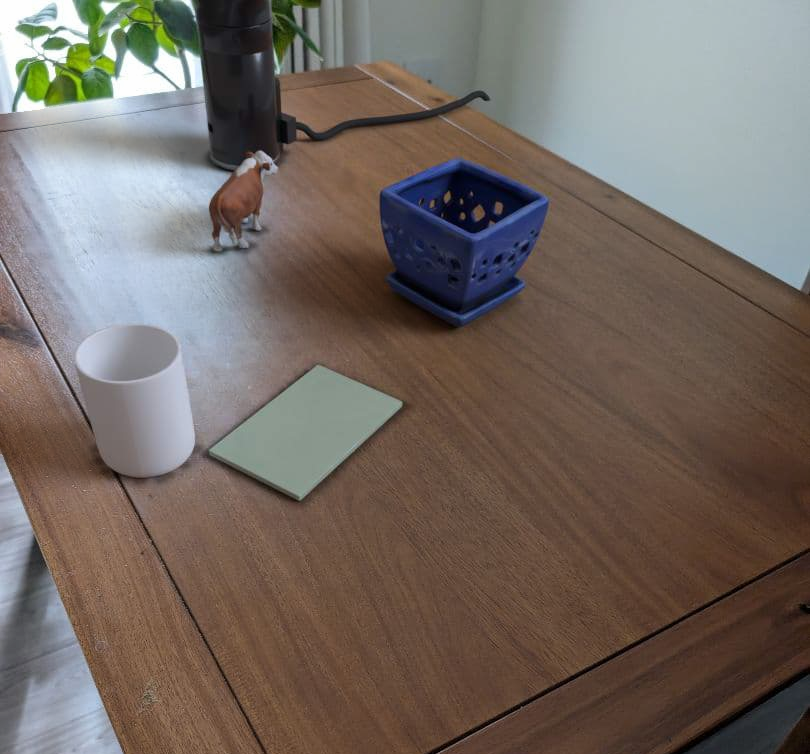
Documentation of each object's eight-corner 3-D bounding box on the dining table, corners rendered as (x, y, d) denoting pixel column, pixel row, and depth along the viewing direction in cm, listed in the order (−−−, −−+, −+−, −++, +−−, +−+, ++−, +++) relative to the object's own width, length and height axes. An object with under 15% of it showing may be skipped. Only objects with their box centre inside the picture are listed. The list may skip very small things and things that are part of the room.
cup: (93, 481, 73) (64, 383, 65) (112, 394, 81) (89, 299, 73) (193, 479, 73) (176, 382, 66) (202, 393, 82) (187, 298, 74)
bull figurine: (286, 214, 107) (283, 147, 101) (235, 263, 98) (228, 194, 92) (254, 206, 108) (249, 140, 102) (201, 255, 99) (192, 186, 93)
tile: (318, 369, 85) (317, 364, 85) (402, 406, 82) (402, 401, 81) (209, 455, 76) (208, 450, 75) (299, 501, 72) (299, 496, 72)
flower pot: (537, 299, 96) (556, 195, 88) (461, 345, 89) (473, 237, 81) (448, 254, 102) (458, 153, 94) (370, 294, 95) (373, 189, 87)
